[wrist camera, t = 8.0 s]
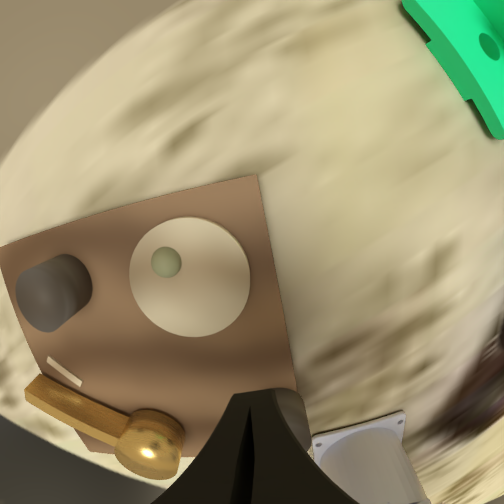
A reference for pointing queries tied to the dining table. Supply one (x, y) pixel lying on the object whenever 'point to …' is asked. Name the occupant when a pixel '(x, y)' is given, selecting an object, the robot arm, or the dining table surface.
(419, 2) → the green triangular bracket
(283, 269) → the dining table surface
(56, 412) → the brass lever handle
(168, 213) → the levelling base
